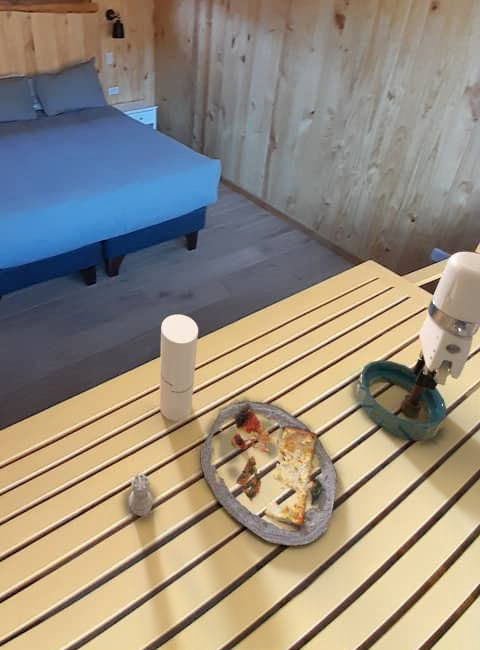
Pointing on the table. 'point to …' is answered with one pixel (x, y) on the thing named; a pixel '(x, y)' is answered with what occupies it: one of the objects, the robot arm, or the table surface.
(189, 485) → the table surface
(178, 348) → the cylindrical container
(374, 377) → the ring
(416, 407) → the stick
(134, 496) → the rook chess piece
